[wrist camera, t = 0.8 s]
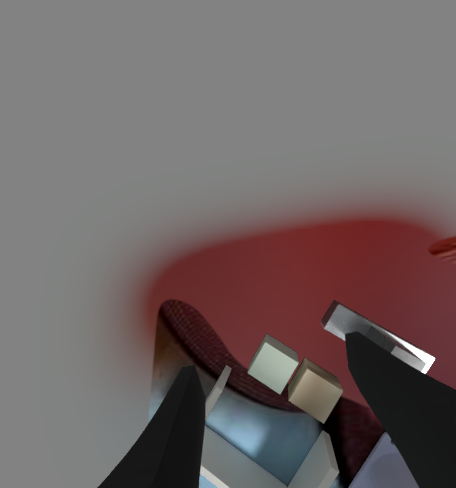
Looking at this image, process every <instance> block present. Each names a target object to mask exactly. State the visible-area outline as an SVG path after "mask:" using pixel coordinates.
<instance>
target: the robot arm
mask: <svg viewBox="0 0 456 488" xmlns="http://www.w3.org/2000/svg"><path fill="white" fill-rule="evenodd" d="M345 342H346V350H347V358H348V367H349V370H350V372H351V375H352V377H353V379H354V380H355V382H356V384H357V386H358V388H359V390H360V392H361V394H362V395H363V397H364V398H365V400H366V401H367V403H368V404H369V406H370V407H371V409H372V411H373V412H374V414H375V415H376V417H377V418H378V420H379V421H380V423H381V424H382V426H383V427H384V429H385V430H386V432H385V433H383V434H382V436H381V438H380V439H379V441H378V442H377V444H376V445H375V447H374V448H373V450H372V452H371V453H370V455H369V456H368V458H367V459H366V461H365V462H364V464H363V466H362V467H361V469H360V470H359V472H358V473H357V475H356V476H355V478H354V479H353V481H352V483H351V484H350V486H349V488H456V390H455V389H453V388H451V387H449V386H447V385H445V384H443V383H441V382H439V381H437V380H435V379H434V378H432V377H430V376H428V375H426V374H424V373H423V372H421V371H419V370H417V369H416V368H414V367H412V366H410V365H409V364H407V363H406V362H404V361H402V360H401V359H399V358H398V357H396V356H394V355H393V354H391V353H390V352H388V351H387V350H385V349H384V348H382V347H381V346H379V345H378V344H376V343H375V342H373V341H372V340H370V339H369V338H367V337H366V336H364V335H363V334H361V333H360V332H358V331H357V332H352V333H347V334H345ZM205 418H206V399H205V395H204V392H203V389H202V386H201V383H200V380H199V377H198V374H197V371H196V368H195V365H192V366H187V367H182V369H181V370H180V372H179V374H178V375H177V377H176V379H175V381H174V383H173V384H172V386H171V388H170V390H169V391H168V393H167V395H166V397H165V398H164V400H163V402H162V403H161V405H160V407H159V408H158V410H157V412H156V413H155V415H154V416H153V418H152V419H151V421H150V422H149V424H148V426H147V427H146V428H145V430H144V431H143V433H142V434H141V435H140V437H139V438H138V440H137V441H136V442H135V444H134V445H133V446H132V448H131V449H130V450H129V452H128V453H127V455H125V457H124V458H123V459H122V460H121V461H120V463H119V464H118V465H117V466H116V467H115V468H114V470H113V471H112V472H111V473H110V475H109V476H108V477H107V478H106V479H105V480H104V481H103V482H102V483H101V485H100V486H99V487H98V488H199V477H200V468H201V459H202V450H203V440H204V431H205ZM391 440H392V441H393V442H391Z"/></svg>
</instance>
